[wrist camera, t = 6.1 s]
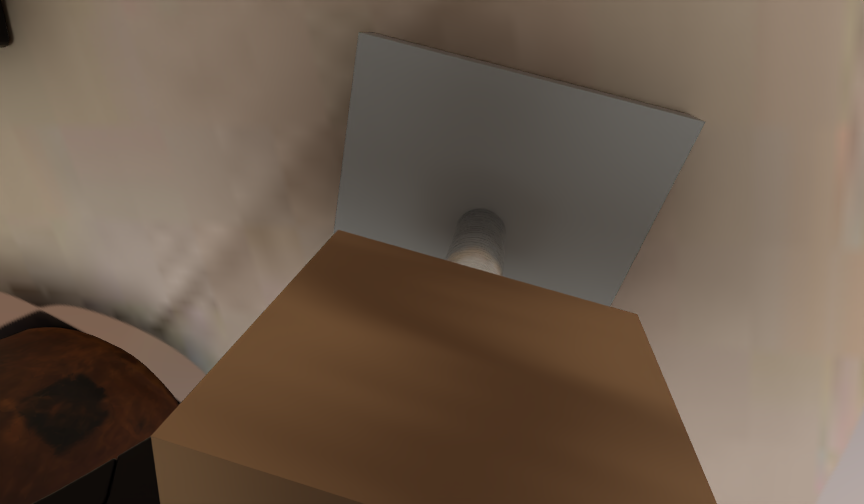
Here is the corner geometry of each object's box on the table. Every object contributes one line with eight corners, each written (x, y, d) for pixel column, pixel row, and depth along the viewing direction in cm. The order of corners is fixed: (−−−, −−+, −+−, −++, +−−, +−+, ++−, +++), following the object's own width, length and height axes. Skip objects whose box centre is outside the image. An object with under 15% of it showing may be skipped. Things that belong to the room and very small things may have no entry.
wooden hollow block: (312, 429, 11) (184, 677, 7) (337, 229, 9) (150, 435, 4) (534, 498, 11) (544, 802, 7) (637, 314, 8) (770, 633, 4)
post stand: (335, 291, 22) (264, 392, 16) (371, 32, 16) (282, 32, 10) (568, 360, 21) (587, 492, 15) (689, 114, 16) (799, 167, 10)
